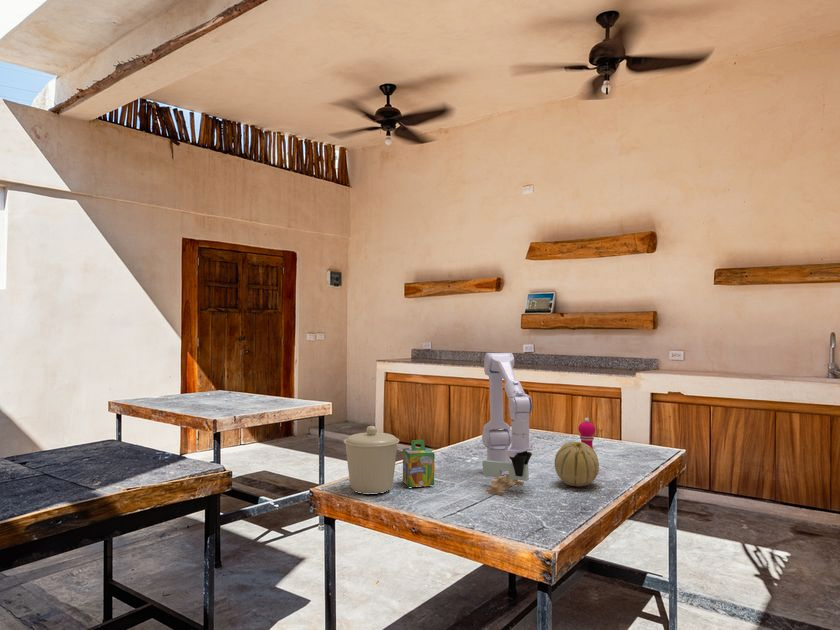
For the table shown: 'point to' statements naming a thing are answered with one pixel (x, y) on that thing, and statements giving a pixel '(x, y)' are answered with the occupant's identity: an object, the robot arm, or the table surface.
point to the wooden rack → (502, 484)
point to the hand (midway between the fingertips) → (520, 475)
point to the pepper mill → (587, 432)
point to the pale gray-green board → (497, 467)
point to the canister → (371, 460)
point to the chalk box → (418, 465)
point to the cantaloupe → (576, 464)
